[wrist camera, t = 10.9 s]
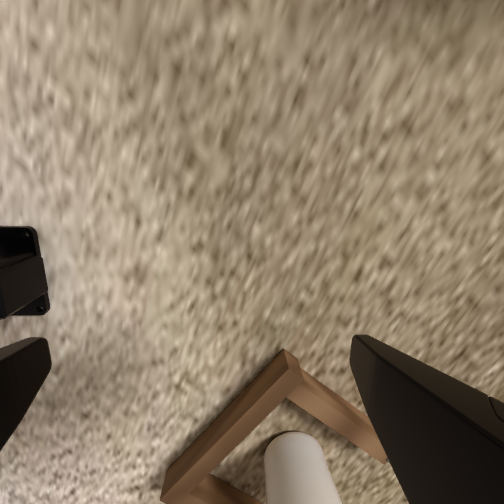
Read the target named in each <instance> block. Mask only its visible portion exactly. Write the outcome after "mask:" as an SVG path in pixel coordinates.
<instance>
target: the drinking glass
mask: <svg viewBox="0 0 504 504" xmlns="http://www.w3.org/2000/svg"><path fill="white" fill-rule="evenodd" d="M264 471H265V484H266V504H343V503H342V501H341V498H340V496H339V493H338V491H337V488H336V486H335V483H334V481H333V478H332V476H331V473H330V471H329V468H328V465H327V462H326V459H325V456H324V453H323V450H322V448H321V446H320V444H319V443H318V441H317V440H316V439H315V438H313V437H312V436H311V435H309V434H306V433H303V432H287V433H284V434H281V435H279V436H277V437H276V438H275V439H273V440H272V441H271V442H270V443H269V445H268V446H267V448H266V451H265V454H264Z"/></svg>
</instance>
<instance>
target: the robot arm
mask: <svg viewBox="0 0 504 504" xmlns="http://www.w3.org/2000/svg"><path fill="white" fill-rule="evenodd" d="M26 231H27V232H28V233H29V237H28V236H27V235H26ZM47 291H48V286H47V281H46V275H45V269H44V264H43V259H42V257H41V253H40V247H39V242H38V236H37V232H36V230H35V229H34V228H33V227H30V226H0V320H1V319H5V318H7V317H9V316H13V315H44V314H45V313H47V312H48V311H49V310H50V303H49V298H48V292H47ZM39 306H41V307H43V310H42V309H41V308H40V307H39ZM51 365H52V362H51V356H50V351H49V345H48V341H47V340H46V339H45V338H43V337H31V338H27V339H24V340H21V341H19V342H16V343H13V344H11V345H8V346H5V347H3V348H0V451H1V449H2V448H3V446H4V445H5V444H6V442H7V441H8V439H9V438H10V436H11V435H12V434H13V432H14V431H15V429H16V428H17V426H18V425H19V423H20V422H21V420H22V418H23V417H24V415H25V414H26V412H27V410H28V408H29V407H30V405H31V403H32V401H33V400H34V398H35V396H36V394H37V393H38V391H39V389H40V387H41V386H42V384H43V382H44V380H45V379H46V377H47V375H48V374H49V372H50V369H51ZM350 367H351V370H352V372H353V375H354V378H355V381H356V384H357V387H358V390H359V393H360V395H361V398H362V401H363V404H364V407H365V409H366V412H367V415H368V417H369V419H370V421H371V424H372V426H373V428H374V430H375V432H376V434H377V436H378V438H379V441H380V443H381V445H382V447H383V449H384V451H385V453H386V455H387V458H388V460H389V462H390V464H391V466H392V468H393V470H394V472H395V475H396V477H397V479H398V481H399V483H400V485H401V487H402V489H403V491H404V494H405V496H406V498H407V500H408V502H409V504H504V403H503V402H501V401H499V400H497V399H495V398H493V397H488V395H487V394H485V393H483V392H481V391H479V390H477V389H475V388H473V387H471V386H469V385H467V384H465V383H463V382H461V381H459V380H457V379H455V378H453V377H451V376H449V375H447V374H445V373H443V372H441V371H439V370H437V369H435V368H433V367H431V366H429V365H427V364H425V363H423V362H421V361H419V360H417V359H415V358H413V357H411V356H409V355H407V354H405V353H403V352H401V351H399V350H397V349H395V348H393V347H391V346H389V345H387V344H385V343H383V342H381V341H379V340H377V339H375V338H373V337H371V336H369V335H354V336H353V338H352V343H351V351H350Z"/></svg>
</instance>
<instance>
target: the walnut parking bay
mask: <svg viewBox="0 0 504 504" xmlns="http://www.w3.org/2000/svg"><path fill="white" fill-rule="evenodd" d="M285 398H288V399H289V400H291V401H292V402H294V403H295V404H297V405H298V406H300V407H301V408H303V409H304V410H305V411H307V412H308V413H310V414H311V415H313V416H314V417H316V418H317V419H319V420H320V421H321V422H323V423H324V424H326V425H327V426H329V427H330V428H332V429H333V430H335V431H336V432H337V433H339V434H340V435H342V436H343V437H345V438H346V439H348V440H349V441H351V442H352V443H354V444H355V445H356V446H358V447H359V448H361V449H362V450H364V451H365V452H367V453H368V454H370V455H371V456H372V457H374V458H375V459H377V460H378V461H380V462H381V463H383V464H386V463H387V462H389V460H388V458H387V455H386V453H385V451H384V449H383V447H382V445H381V443H380V441H379V438H378V436H377V434H376V432H375V430H374V428H373V426H372V424H371V421H370V419H369V417H368V416H366V415H365V414H363V413H362V412H361V411H359V410H358V409H357V408H355V407H354V406H352V405H351V404H350V403H348V402H347V401H346V400H344V399H343V398H341V397H340V396H339V395H337V394H336V393H334V392H333V391H332V390H330V389H329V388H328V387H326V386H325V385H323V384H322V383H321V382H319V381H318V380H316V379H315V378H314V377H312V376H311V375H310V374H308V373H307V372H305V371H304V370H303V369H301V368H300V365H299V362H298V359H297V358H296V357H295V356H293V355H292V354H290V353H289V352H288V351H286V350H285V349H283V350H282V351H281V352H280V353H279V354H278V355H277V356H276V357H275V358H274V359H273V360H272V361H271V362H270V363H269V364H268V365H267V366H266V368H265V369H264V370H263V371H262V372H261V373H260V374H259V375H258V376H257V377H256V378H255V379H254V380H253V381H252V382H251V383H250V384H249V385H248V386H247V387H246V388H245V389H244V390H243V391H242V393H241V394H240V395H239V396H238V397H237V398H236V399H235V400H234V401H233V402H232V403H231V404H230V405H229V406H228V407H227V408H226V409H225V410H224V411H223V412H222V413H221V414H220V415H219V416H218V418H217V419H216V420H215V421H214V422H213V423H212V424H211V425H210V426H209V427H208V428H207V429H206V430H205V431H204V432H203V433H202V434H201V435H200V436H199V437H198V438H197V439H196V440H195V441H194V443H193V444H192V445H191V446H190V447H189V448H188V449H187V450H186V451H185V452H184V453H183V454H182V455H181V456H180V457H179V458H178V459H177V460H176V461H175V462H174V463H173V464H172V465H171V466H170V468H169V469H168V470H167V471H166V476H165V480H164V484H163V488H162V493H161V497H160V501H162V502H164V503H166V504H262V503H260V502H259V501H257V500H255V499H253V498H252V497H250V496H248V495H246V494H245V493H243V492H241V491H239V490H238V489H236V488H234V487H232V486H231V485H229V484H227V483H225V482H224V481H222V480H220V479H218V478H217V477H215V476H213V475H211V474H210V472H211V471H212V470H213V469H214V468H215V467H216V466H217V465H218V464H219V463H220V462H221V461H222V460H223V459H224V458H225V457H226V456H227V455H228V454H229V453H230V452H231V451H232V450H233V449H234V448H235V447H236V446H237V445H239V444H240V443H241V442H242V441H243V440H244V439H245V438H246V437H247V436H248V435H249V434H250V433H251V432H252V431H253V430H254V429H255V428H256V427H257V426H258V425H259V424H260V423H261V422H262V421H263V420H264V419H265V418H266V417H267V416H268V415H269V414H270V413H271V412H272V411H273V410H274V409H275V408H276V407H277V406H278V405H279V404H280V403H281V402H282V401H283V400H284V399H285ZM389 463H390V462H389Z"/></svg>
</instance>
